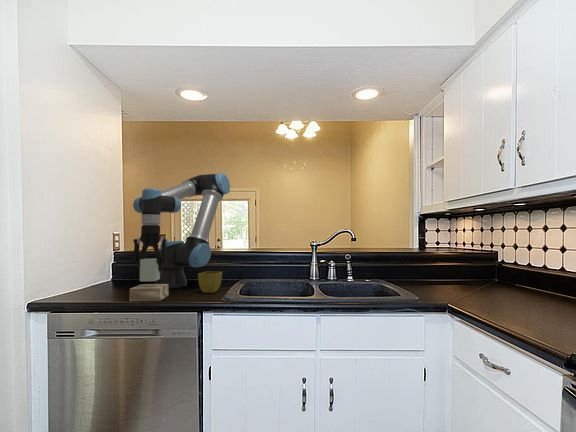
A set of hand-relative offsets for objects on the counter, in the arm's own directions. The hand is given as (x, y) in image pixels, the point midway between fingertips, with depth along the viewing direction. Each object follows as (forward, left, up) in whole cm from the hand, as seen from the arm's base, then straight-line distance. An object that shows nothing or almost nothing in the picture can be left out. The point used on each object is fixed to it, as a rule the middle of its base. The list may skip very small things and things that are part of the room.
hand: (149, 279), depth 144 cm
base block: (0, 0, -8) cm, 8 cm away
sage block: (0, 0, 0) cm, 1 cm away
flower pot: (-13, +23, -8) cm, 28 cm away
